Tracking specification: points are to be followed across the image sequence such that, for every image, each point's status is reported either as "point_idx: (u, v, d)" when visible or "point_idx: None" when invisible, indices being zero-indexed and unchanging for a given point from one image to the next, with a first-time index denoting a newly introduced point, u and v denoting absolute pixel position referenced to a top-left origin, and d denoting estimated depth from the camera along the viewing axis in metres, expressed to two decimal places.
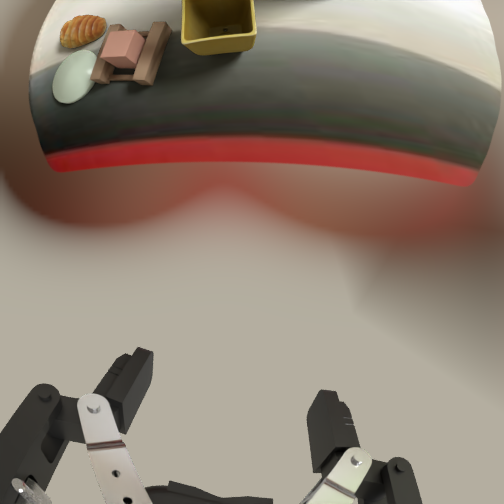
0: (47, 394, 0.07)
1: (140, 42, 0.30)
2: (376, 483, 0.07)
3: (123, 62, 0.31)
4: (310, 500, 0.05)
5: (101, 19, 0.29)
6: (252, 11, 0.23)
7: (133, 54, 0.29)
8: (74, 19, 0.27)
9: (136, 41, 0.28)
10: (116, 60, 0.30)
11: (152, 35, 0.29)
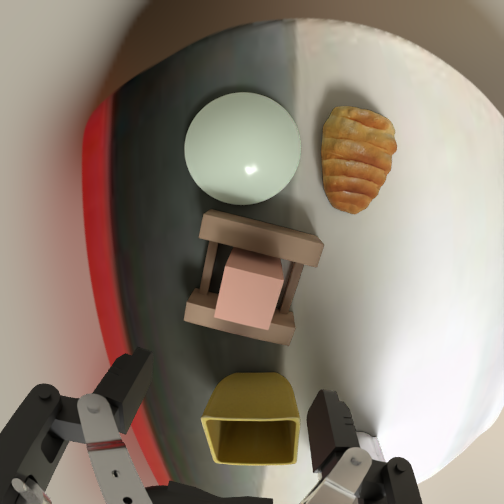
0: (47, 394, 0.07)
1: None
2: (376, 483, 0.07)
3: None
4: (310, 500, 0.05)
5: (364, 206, 0.23)
6: (248, 464, 0.24)
7: None
8: (388, 144, 0.20)
9: None
10: None
11: None
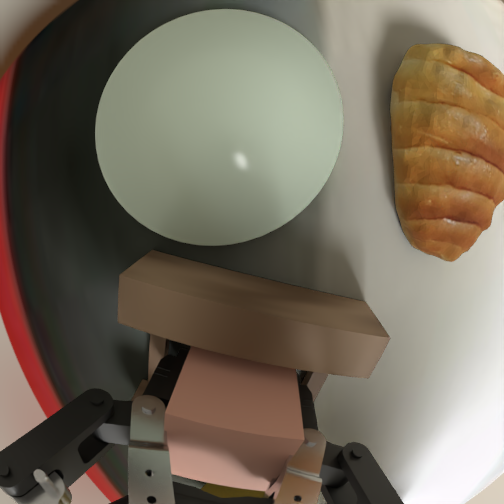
0: (99, 399, 0.08)
1: None
2: (331, 467, 0.08)
3: None
4: (278, 492, 0.06)
5: (469, 247, 0.10)
6: None
7: None
8: None
9: None
10: None
11: None
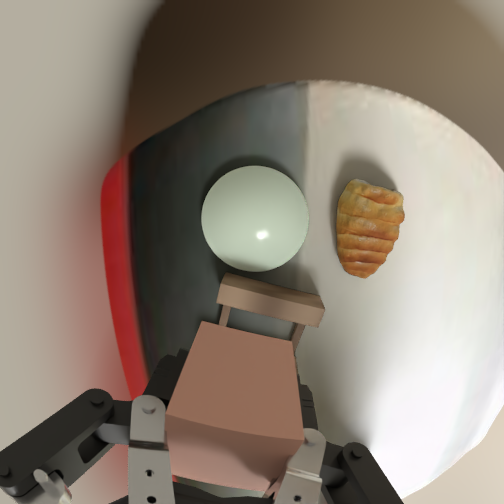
0: (99, 399, 0.08)
1: None
2: (331, 467, 0.08)
3: None
4: (278, 492, 0.06)
5: (373, 271, 0.26)
6: None
7: None
8: (397, 217, 0.23)
9: None
10: None
11: None
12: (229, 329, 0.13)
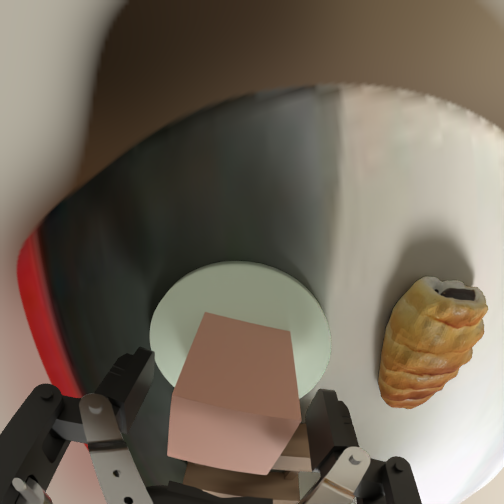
0: (49, 394, 0.07)
1: None
2: (375, 482, 0.07)
3: None
4: (309, 500, 0.05)
5: None
6: None
7: None
8: (476, 340, 0.12)
9: None
10: None
11: None
12: (231, 319, 0.14)
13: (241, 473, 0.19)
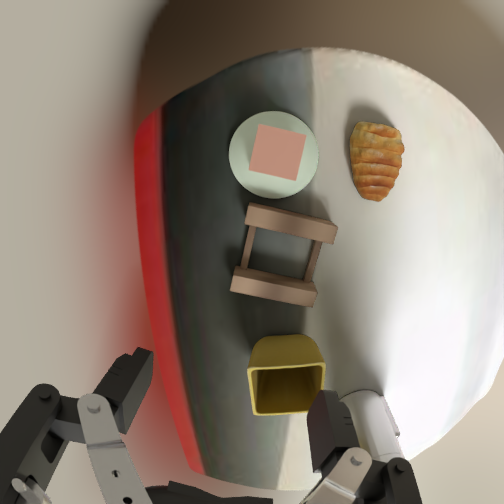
0: (47, 394, 0.07)
1: None
2: (376, 483, 0.07)
3: None
4: (310, 500, 0.05)
5: (385, 195, 0.30)
6: (282, 413, 0.32)
7: None
8: (398, 148, 0.27)
9: None
10: None
11: (295, 294, 0.33)
12: None
13: (273, 275, 0.35)
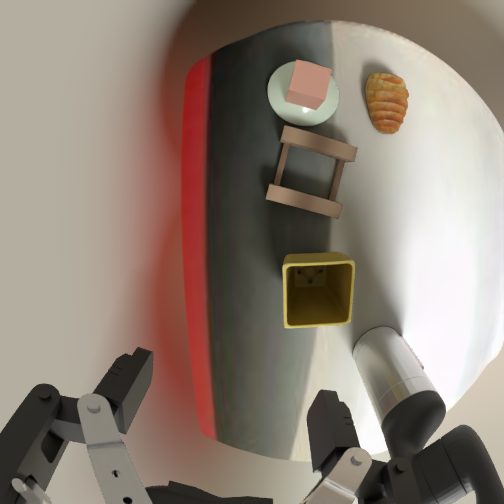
0: (47, 394, 0.07)
1: (312, 102, 0.31)
2: (376, 483, 0.07)
3: None
4: (310, 500, 0.05)
5: (397, 128, 0.34)
6: (312, 325, 0.35)
7: (295, 96, 0.31)
8: (404, 92, 0.31)
9: (312, 99, 0.30)
10: None
11: (323, 204, 0.36)
12: None
13: (302, 192, 0.38)
